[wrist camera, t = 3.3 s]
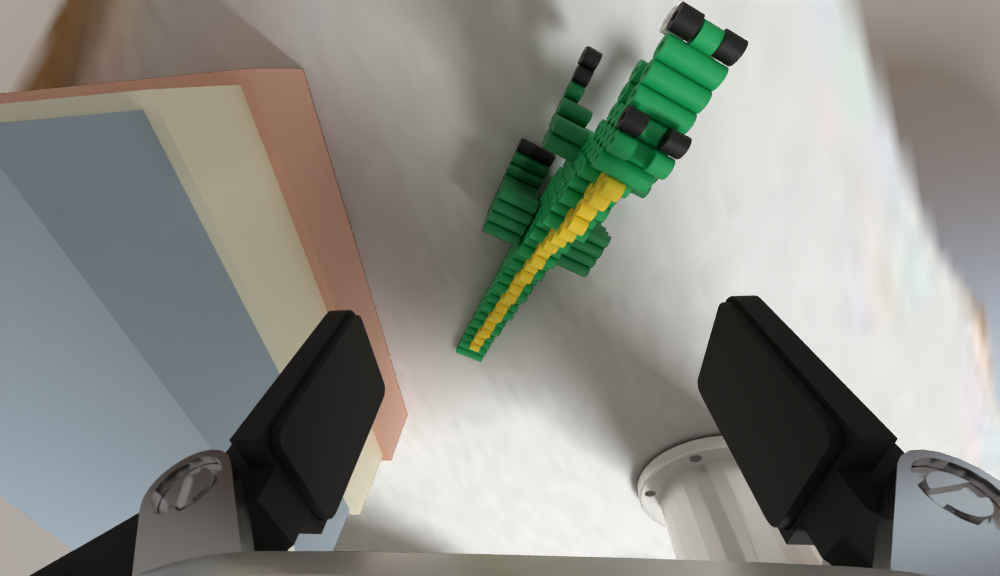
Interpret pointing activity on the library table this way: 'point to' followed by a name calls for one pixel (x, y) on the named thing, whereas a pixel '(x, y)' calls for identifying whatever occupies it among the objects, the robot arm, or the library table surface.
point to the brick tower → (163, 284)
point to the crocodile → (597, 164)
